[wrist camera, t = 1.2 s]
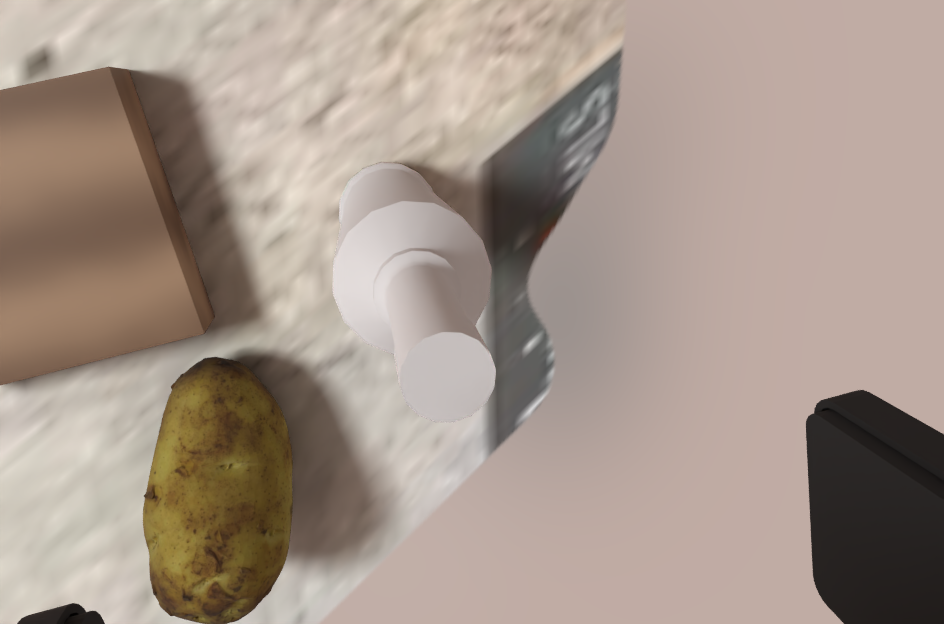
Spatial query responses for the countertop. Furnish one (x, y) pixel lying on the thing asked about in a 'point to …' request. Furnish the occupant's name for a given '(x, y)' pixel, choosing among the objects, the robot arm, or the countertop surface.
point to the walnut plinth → (87, 229)
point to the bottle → (415, 288)
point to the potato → (218, 495)
